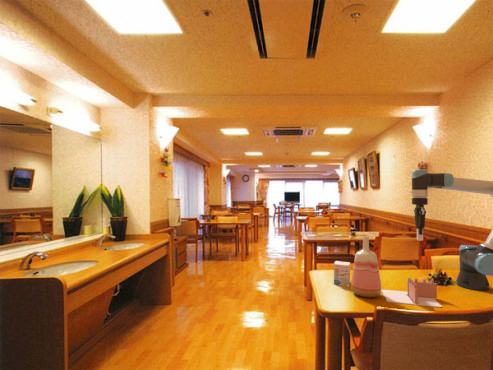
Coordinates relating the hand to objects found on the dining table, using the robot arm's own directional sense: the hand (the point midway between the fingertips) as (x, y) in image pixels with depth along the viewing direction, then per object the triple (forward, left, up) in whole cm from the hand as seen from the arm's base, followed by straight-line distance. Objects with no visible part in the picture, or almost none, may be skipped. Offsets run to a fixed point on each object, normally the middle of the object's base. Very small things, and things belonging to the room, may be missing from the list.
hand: (420, 240), depth 159 cm
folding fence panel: (+9, +22, -26) cm, 35 cm away
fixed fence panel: (+3, +15, -26) cm, 30 cm away
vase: (+30, +20, -27) cm, 45 cm away
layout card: (+10, +19, -26) cm, 34 cm away
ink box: (+41, +3, -27) cm, 49 cm away
